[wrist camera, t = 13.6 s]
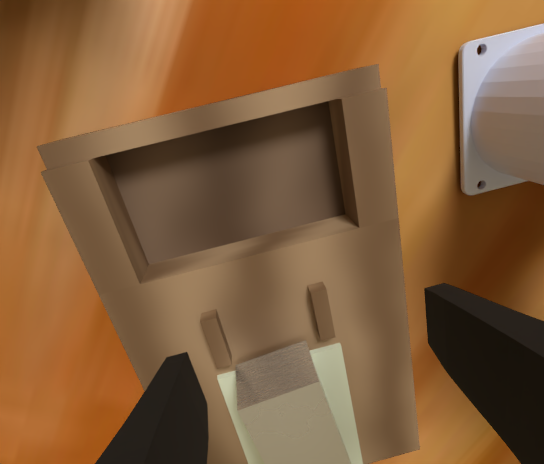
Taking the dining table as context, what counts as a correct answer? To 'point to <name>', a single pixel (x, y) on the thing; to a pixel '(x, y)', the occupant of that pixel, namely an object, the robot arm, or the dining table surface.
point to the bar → (288, 409)
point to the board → (252, 242)
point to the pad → (336, 391)
